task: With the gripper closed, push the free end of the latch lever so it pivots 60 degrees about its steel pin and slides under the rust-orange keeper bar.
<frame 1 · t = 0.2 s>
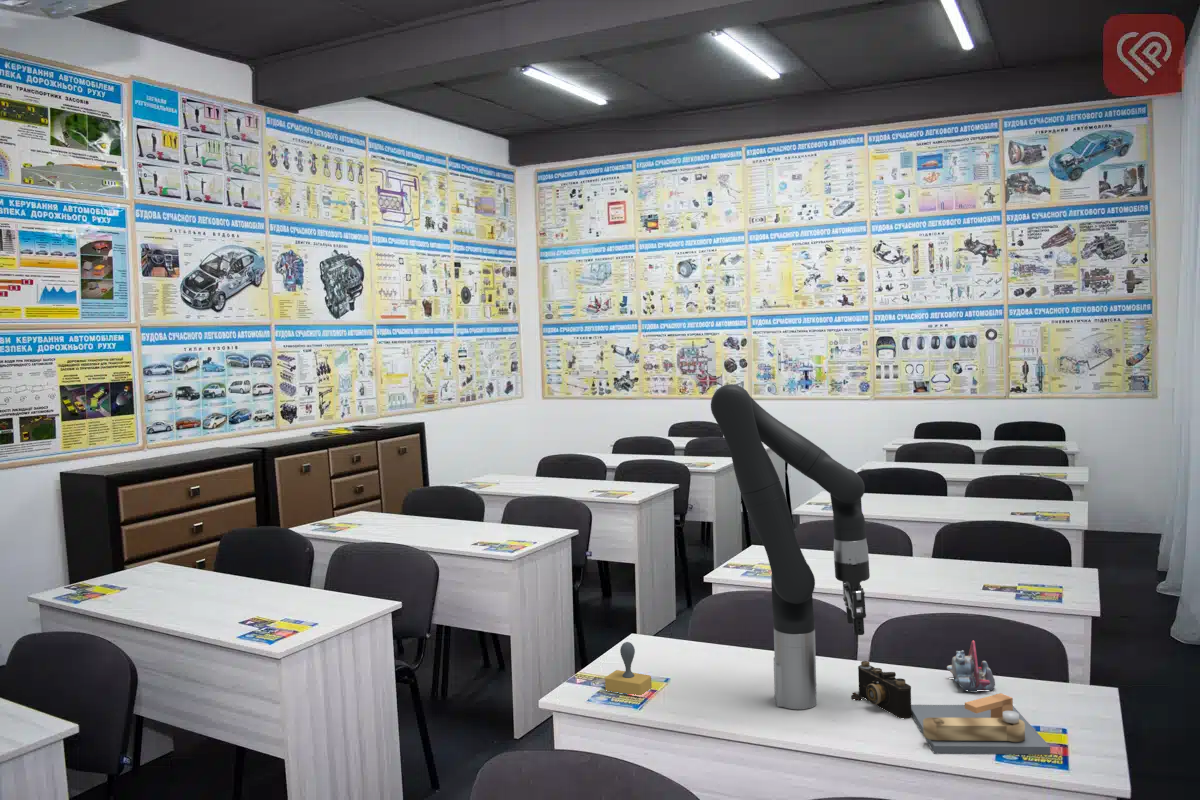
hand: (855, 628, 205), 17 cm above the table, tool pointing down, fingers open, 8 cm apart
rubber stamp: (628, 692, 218), on the table
camera: (879, 707, 204), on the table
keeper: (1001, 729, 189), resting on base plate
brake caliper: (971, 687, 213), on the table
base plate: (975, 731, 189), on the table
latch lever: (973, 728, 182), point 3 cm above the table, hinge at 0.0°
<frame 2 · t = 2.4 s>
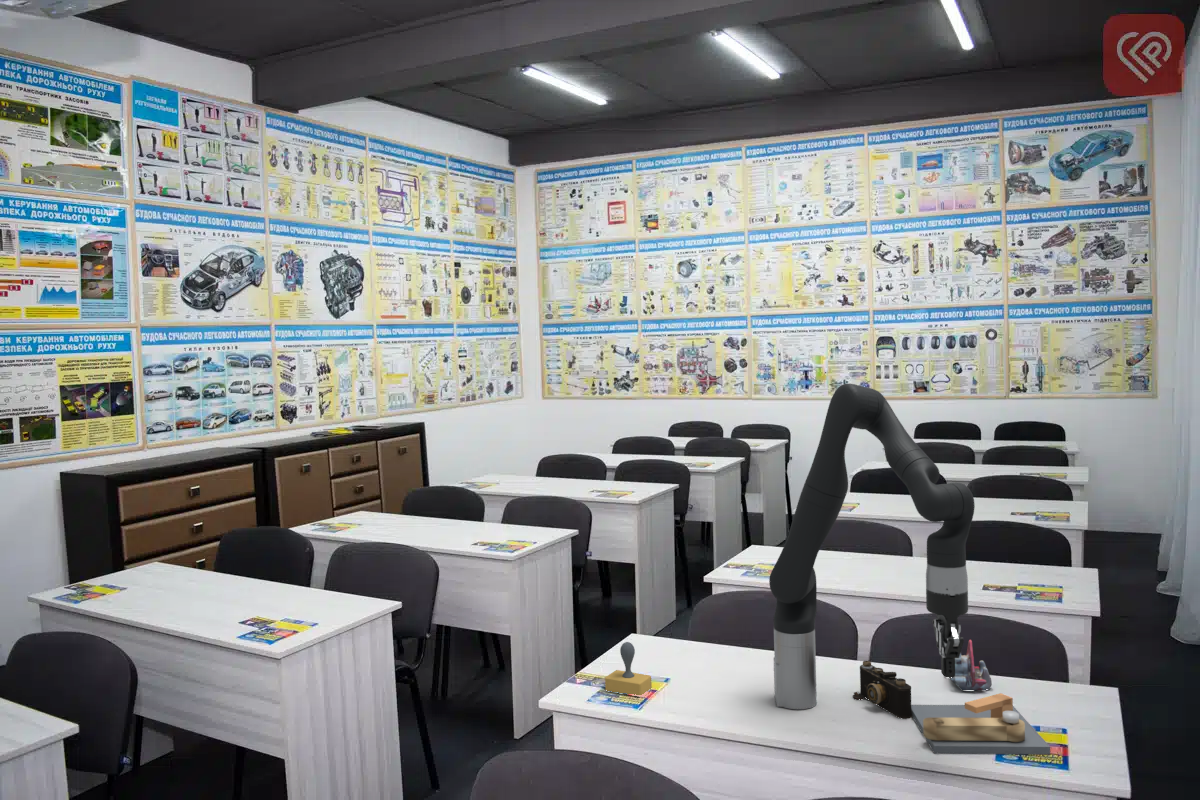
hand: (948, 675, 175), 17 cm above the table, tool pointing down, fingers closed
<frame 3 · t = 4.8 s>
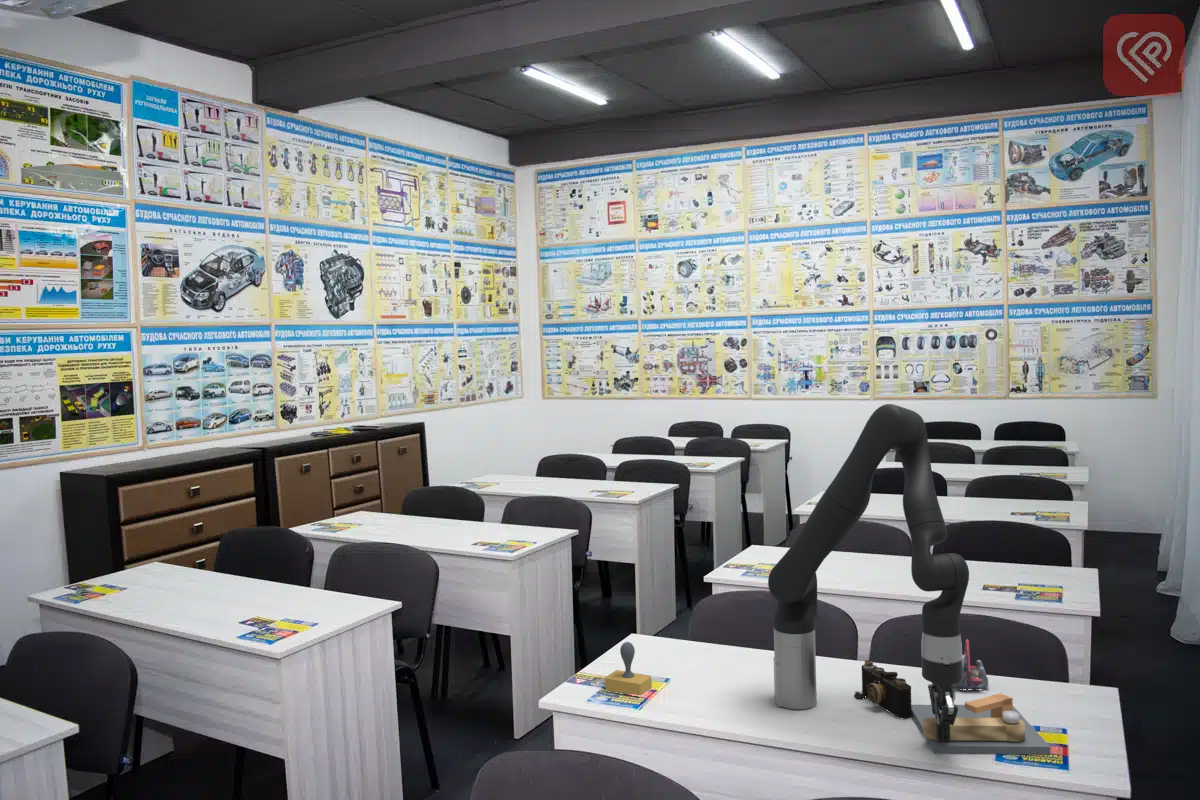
hand: (943, 741, 179), 2 cm above the table, tool pointing down, fingers closed
camera: (881, 707, 204), on the table, touching base plate
latch lever: (973, 728, 182), point 3 cm above the table, hinge at 0.2°, touching gripper
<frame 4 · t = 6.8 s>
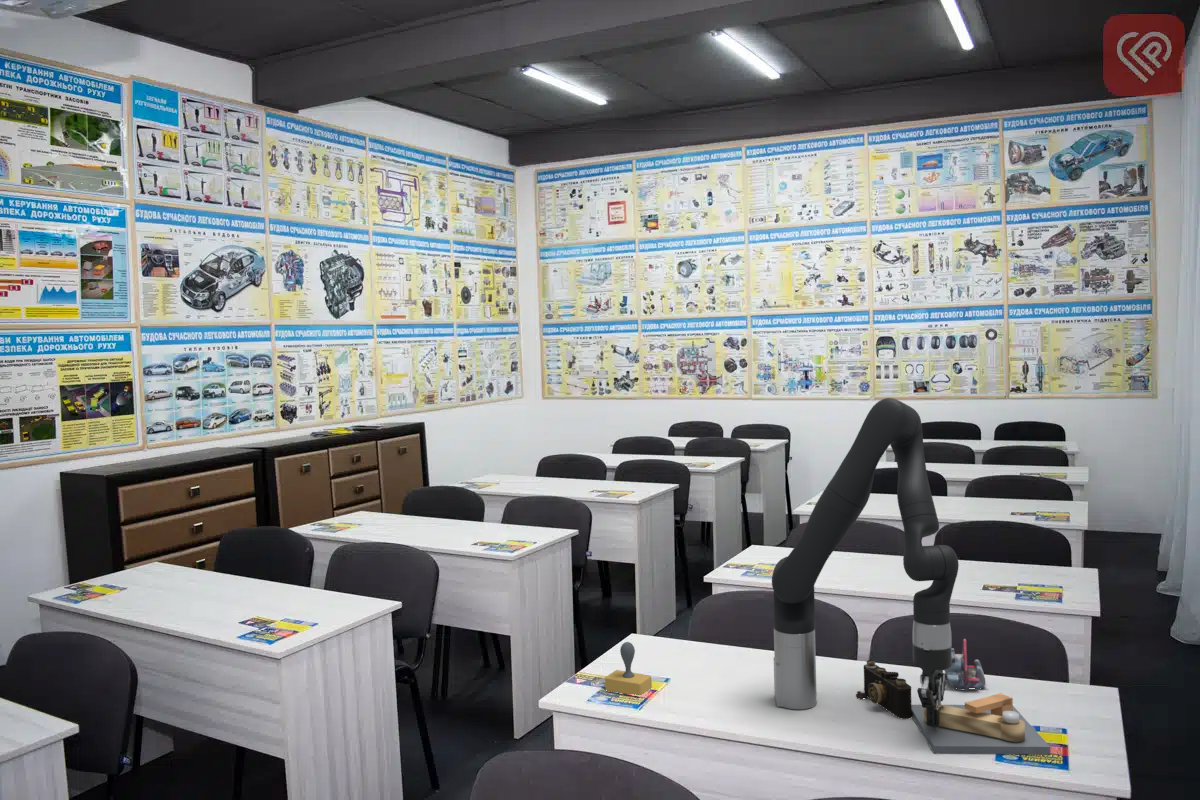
hand: (933, 725, 186), 3 cm above the table, tool pointing down, fingers closed
camera: (882, 706, 204), on the table
latch lever: (972, 721, 186), point 3 cm above the table, hinge at 29.8°, touching gripper
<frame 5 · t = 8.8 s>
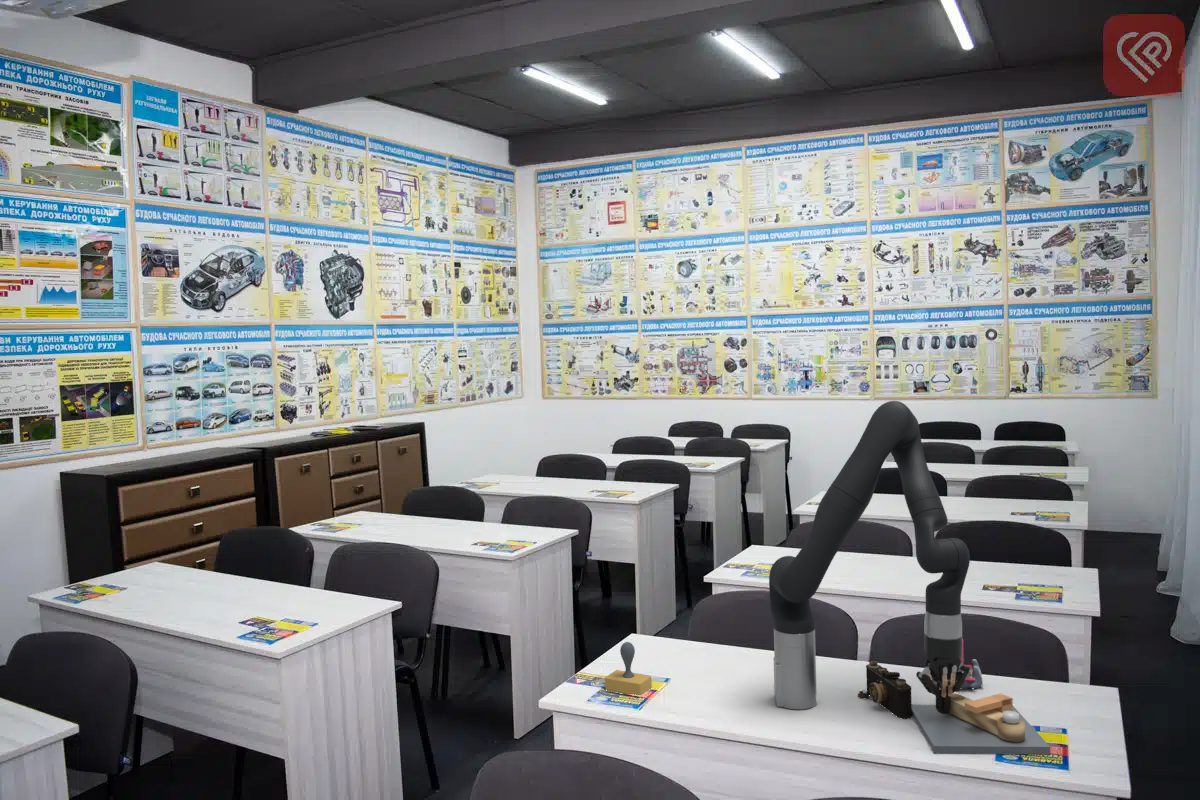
hand: (943, 712, 193), 2 cm above the table, tool pointing down, fingers closed
latch lever: (982, 716, 188), point 3 cm above the table, hinge at 60.8°, touching gripper
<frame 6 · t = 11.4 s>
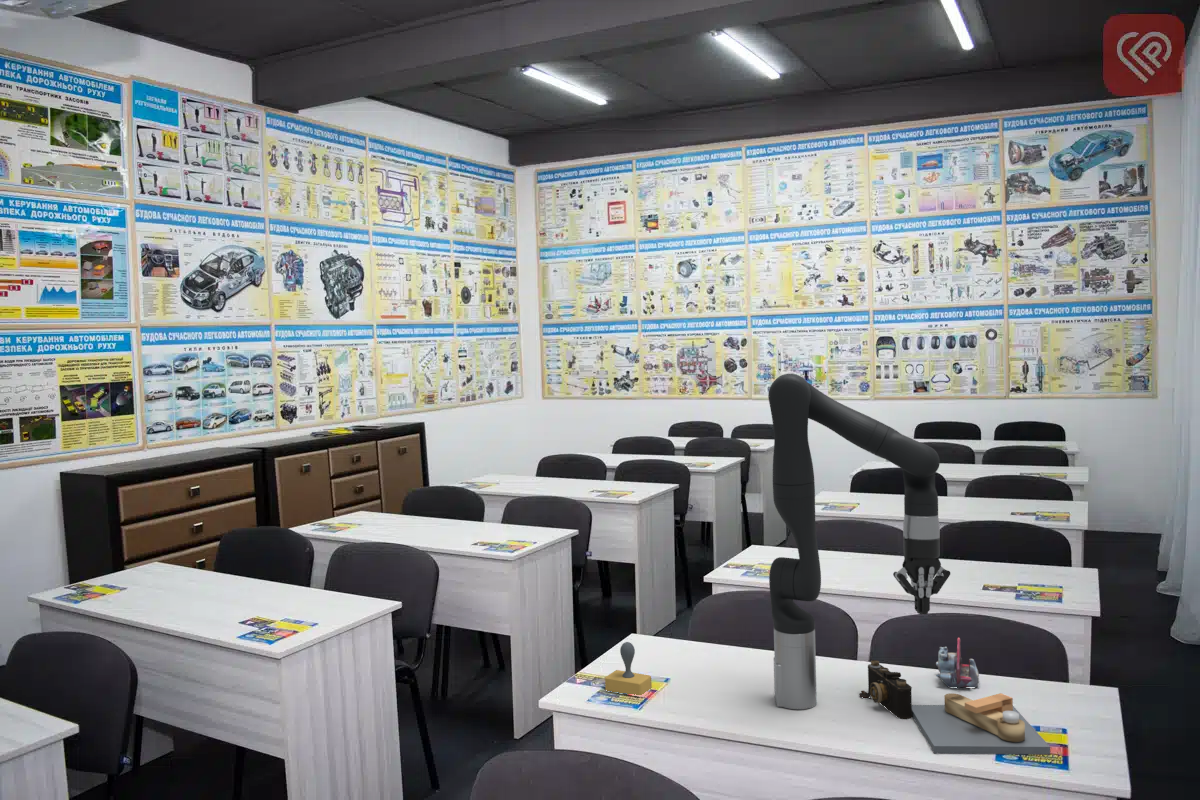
hand: (922, 613, 198), 22 cm above the table, tool pointing down, fingers closed
latch lever: (982, 716, 188), point 3 cm above the table, hinge at 60.8°
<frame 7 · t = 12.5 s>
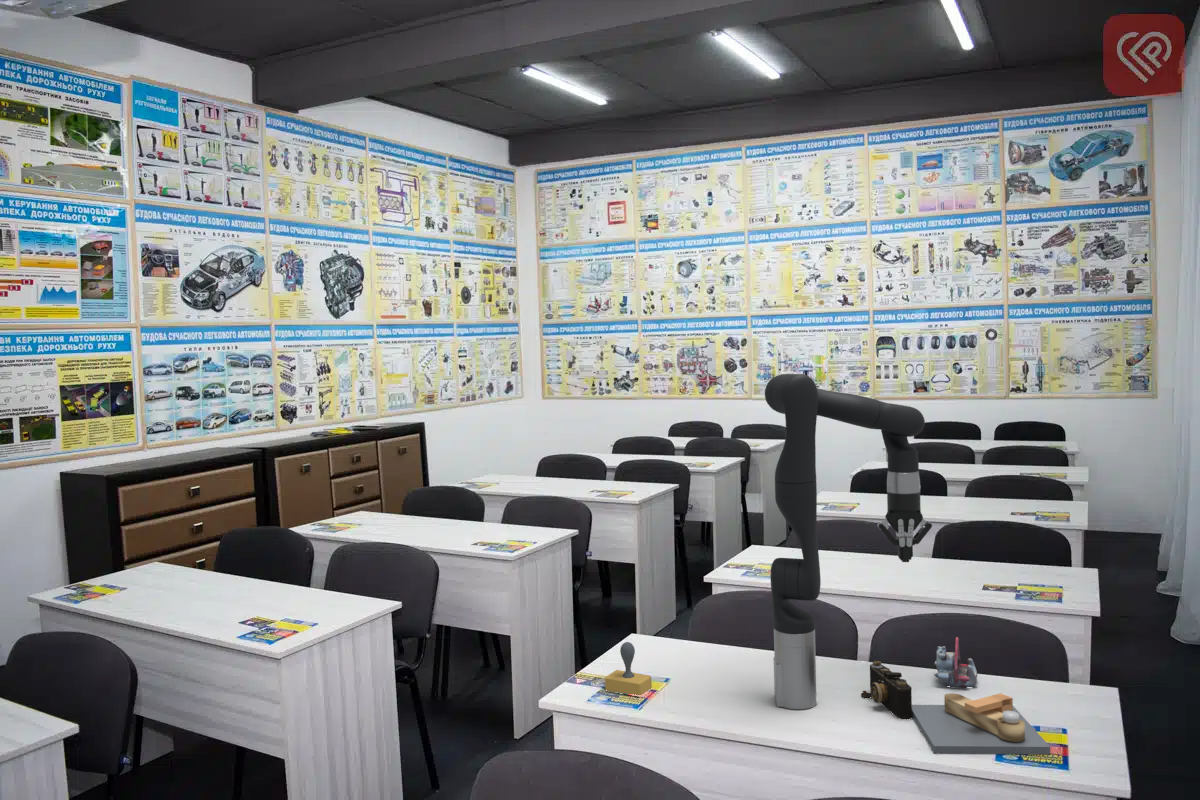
hand: (904, 561, 217), 29 cm above the table, tool pointing down, fingers closed
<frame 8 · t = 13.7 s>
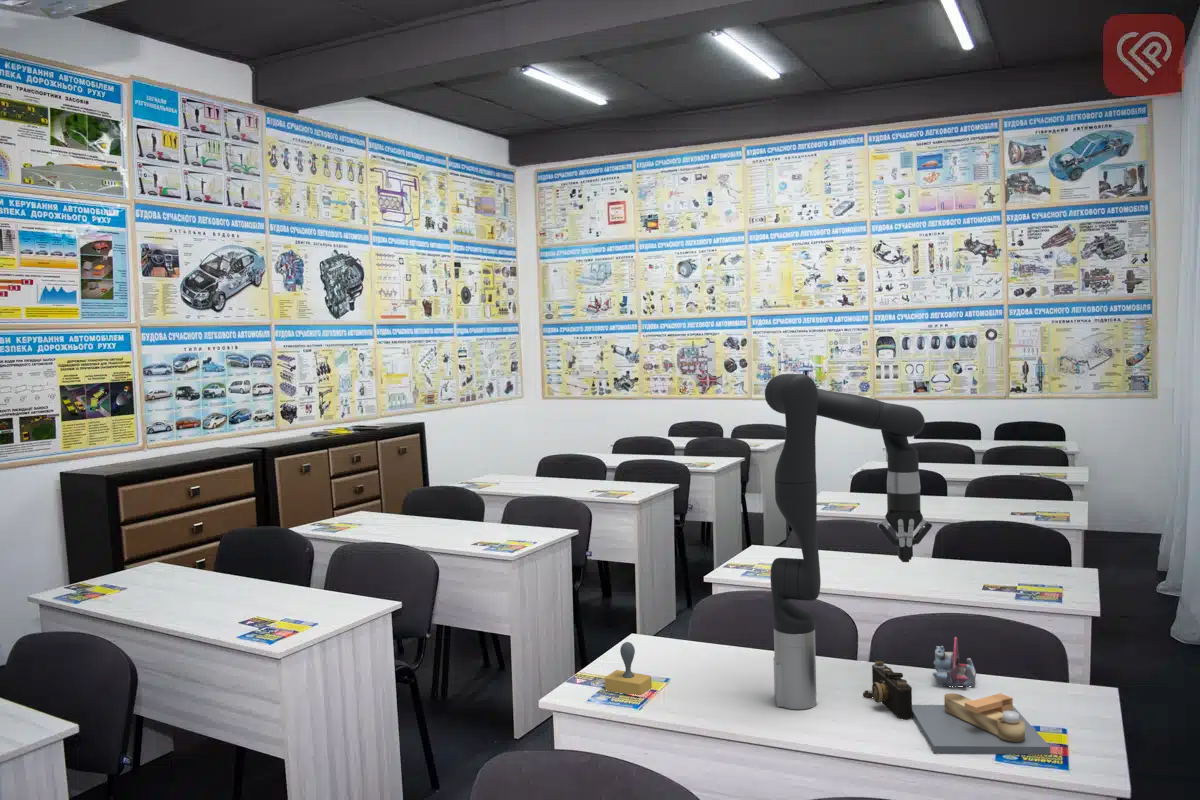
hand: (904, 561, 217), 29 cm above the table, tool pointing down, fingers closed
at the end: latch lever at +61° (first picture: +0°) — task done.
